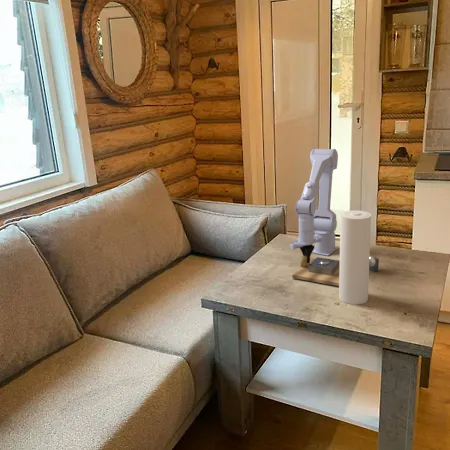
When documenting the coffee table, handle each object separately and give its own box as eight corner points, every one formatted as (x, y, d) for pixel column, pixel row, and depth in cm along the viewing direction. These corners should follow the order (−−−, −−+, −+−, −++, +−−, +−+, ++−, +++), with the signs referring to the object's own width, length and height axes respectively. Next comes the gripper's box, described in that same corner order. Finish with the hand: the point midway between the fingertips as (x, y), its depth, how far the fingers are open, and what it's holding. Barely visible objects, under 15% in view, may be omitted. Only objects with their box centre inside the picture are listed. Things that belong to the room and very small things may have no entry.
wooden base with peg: (291, 277, 171) (291, 264, 169) (309, 260, 185) (309, 248, 184) (339, 286, 161) (339, 272, 160) (354, 267, 176) (354, 255, 174)
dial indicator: (372, 268, 176) (373, 253, 174) (379, 271, 172) (380, 256, 170) (365, 269, 175) (366, 255, 173) (372, 273, 171) (373, 258, 169)
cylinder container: (369, 305, 148) (372, 217, 139) (339, 303, 150) (341, 217, 141) (366, 292, 157) (369, 208, 148) (338, 291, 159) (339, 208, 150)
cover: (308, 271, 172) (308, 264, 171) (317, 263, 179) (317, 255, 178) (331, 275, 167) (331, 268, 166) (339, 266, 174) (339, 259, 173)
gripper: (313, 223, 181) (314, 255, 185) (284, 231, 174) (285, 263, 178) (326, 227, 175) (325, 260, 179) (296, 235, 168) (296, 269, 172)
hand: (306, 262), depth 178 cm, fingers closed
